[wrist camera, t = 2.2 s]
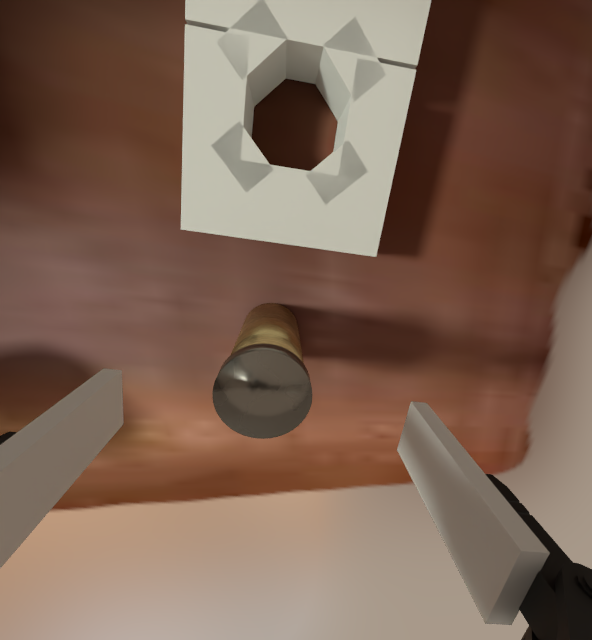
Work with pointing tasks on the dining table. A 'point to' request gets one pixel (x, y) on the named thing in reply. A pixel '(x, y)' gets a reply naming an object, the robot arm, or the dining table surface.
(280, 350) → the gold grey cylinder
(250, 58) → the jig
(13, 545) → the robot arm
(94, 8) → the dining table surface
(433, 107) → the dining table surface
